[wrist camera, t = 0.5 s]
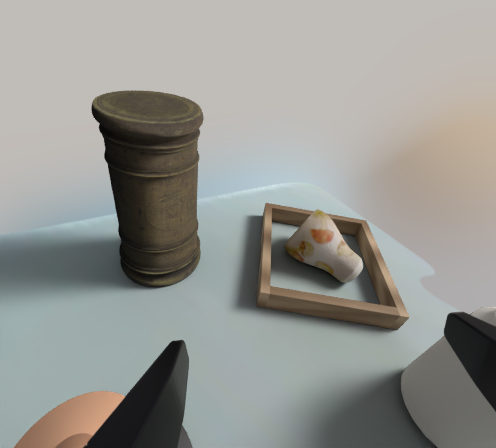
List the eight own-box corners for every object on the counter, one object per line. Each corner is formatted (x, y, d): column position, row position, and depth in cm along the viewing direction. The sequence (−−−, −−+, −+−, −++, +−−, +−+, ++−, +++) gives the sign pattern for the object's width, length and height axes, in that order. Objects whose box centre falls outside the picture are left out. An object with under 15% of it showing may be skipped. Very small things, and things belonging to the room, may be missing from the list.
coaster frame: (397, 329, 29) (409, 317, 27) (256, 306, 29) (260, 292, 27) (359, 232, 42) (366, 220, 41) (262, 215, 42) (265, 202, 40)
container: (210, 245, 35) (222, 103, 24) (178, 299, 28) (175, 133, 17) (149, 227, 36) (133, 82, 25) (104, 273, 29) (54, 101, 18)
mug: (351, 305, 31) (334, 241, 26) (287, 281, 38) (265, 226, 33) (377, 264, 35) (366, 201, 30) (314, 249, 42) (298, 196, 37)
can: (503, 486, 20) (696, 447, 12) (400, 441, 21) (519, 381, 14) (470, 384, 25) (587, 316, 18) (391, 353, 27) (471, 278, 19)
